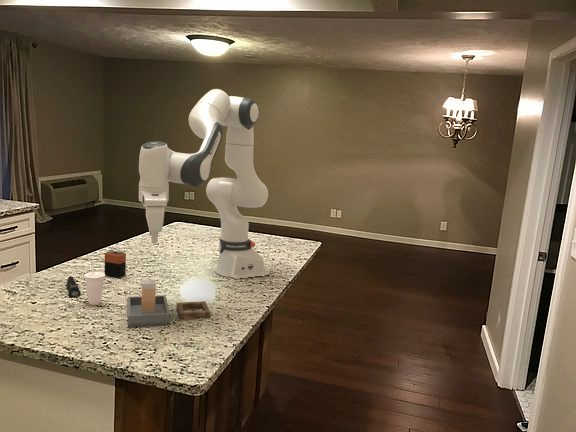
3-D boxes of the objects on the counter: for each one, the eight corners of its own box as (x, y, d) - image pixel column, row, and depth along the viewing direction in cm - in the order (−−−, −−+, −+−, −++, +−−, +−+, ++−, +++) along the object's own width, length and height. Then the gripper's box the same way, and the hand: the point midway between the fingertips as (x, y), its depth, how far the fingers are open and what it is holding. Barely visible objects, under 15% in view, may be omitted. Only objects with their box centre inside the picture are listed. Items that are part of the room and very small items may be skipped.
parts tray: (165, 305, 161) (165, 295, 161) (169, 324, 147) (170, 313, 146) (127, 307, 157) (127, 296, 157) (127, 327, 143) (128, 316, 142)
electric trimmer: (76, 283, 177) (76, 275, 176) (81, 297, 163) (81, 288, 163) (65, 284, 175) (64, 275, 174) (68, 298, 162) (68, 289, 161)
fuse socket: (205, 306, 163) (205, 301, 162) (209, 318, 154) (210, 312, 153) (176, 308, 159) (176, 302, 159) (179, 319, 151) (179, 313, 150)
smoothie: (87, 299, 162) (87, 258, 159) (107, 299, 162) (107, 259, 160) (81, 306, 155) (81, 264, 153) (102, 307, 156) (102, 265, 153)
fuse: (154, 309, 154) (154, 279, 153) (154, 314, 151) (155, 283, 149) (140, 310, 153) (141, 280, 151) (141, 315, 149) (142, 284, 148)
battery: (119, 278, 184) (119, 253, 182) (103, 275, 185) (104, 250, 184) (126, 275, 188) (126, 250, 186) (110, 272, 190) (110, 248, 188)
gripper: (141, 189, 157) (141, 230, 160) (144, 201, 138) (144, 248, 141) (161, 189, 159) (161, 230, 162) (167, 201, 140) (166, 247, 143)
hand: (153, 238), depth 152 cm, fingers open, 8 cm apart
